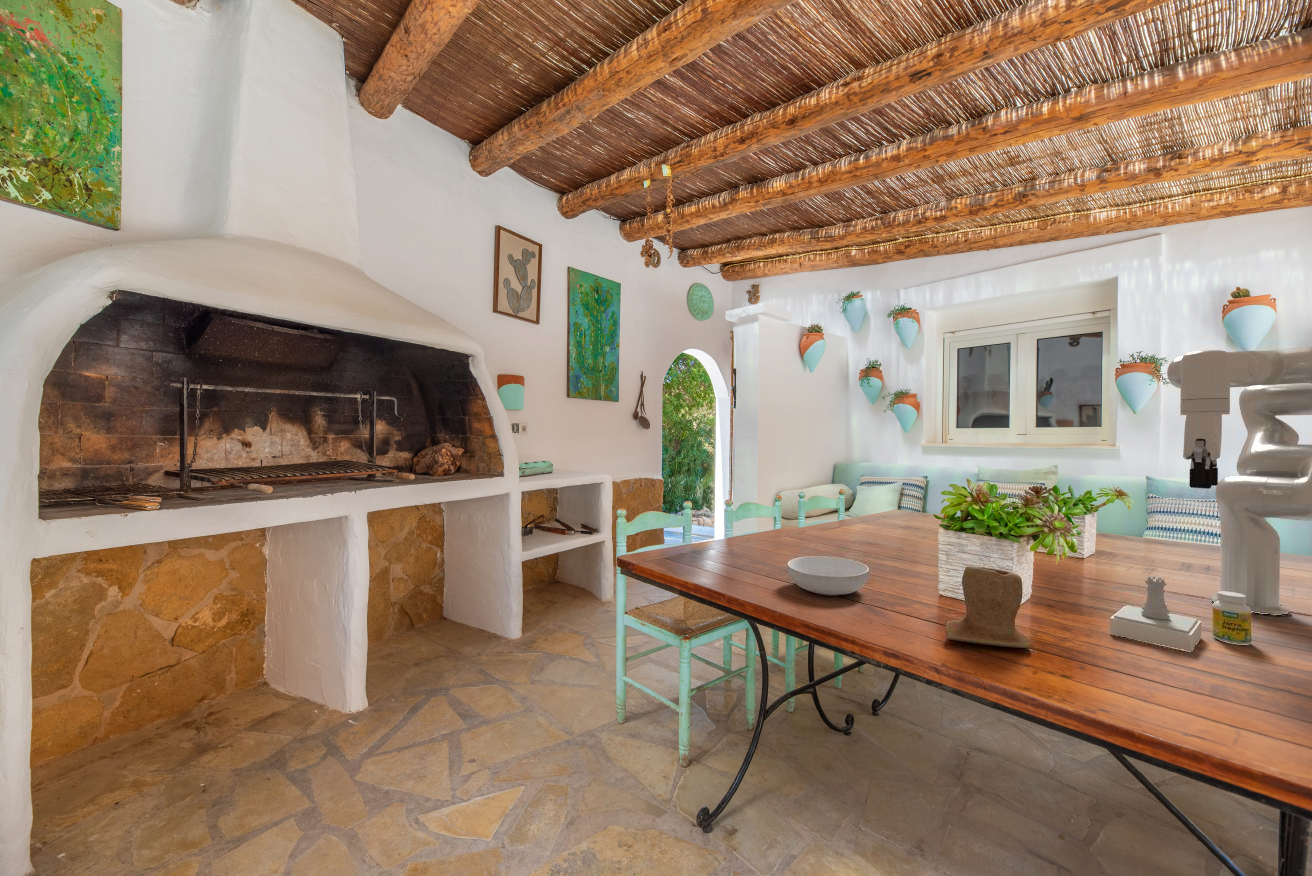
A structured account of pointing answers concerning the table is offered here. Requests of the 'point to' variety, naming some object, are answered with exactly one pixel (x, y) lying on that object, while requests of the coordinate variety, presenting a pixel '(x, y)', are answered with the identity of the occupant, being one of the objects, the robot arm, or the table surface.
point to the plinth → (1156, 628)
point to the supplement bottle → (1232, 618)
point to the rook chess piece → (1155, 600)
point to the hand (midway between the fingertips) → (1203, 486)
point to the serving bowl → (828, 574)
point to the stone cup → (989, 609)
